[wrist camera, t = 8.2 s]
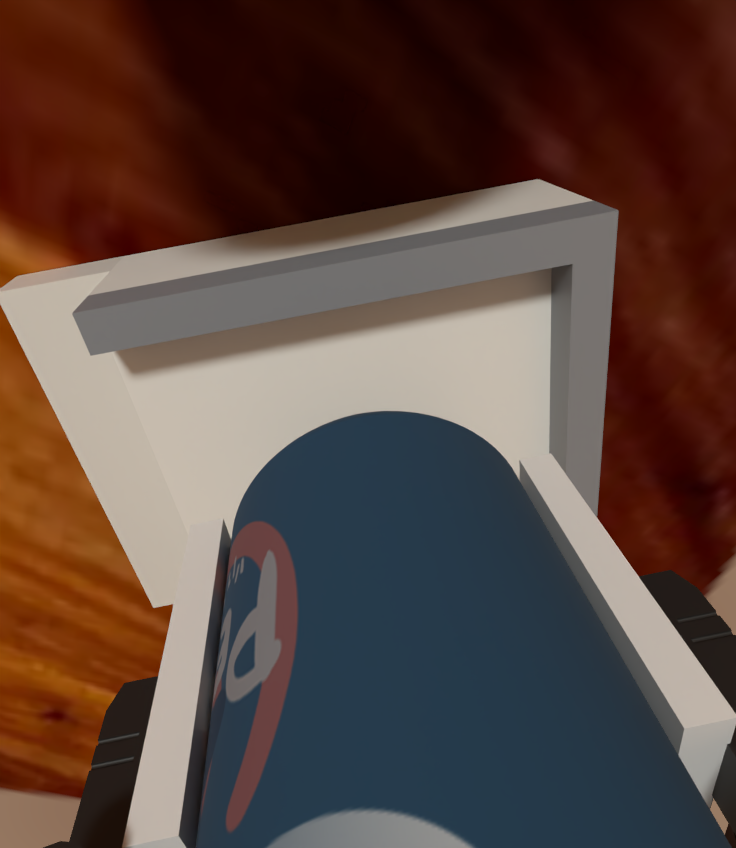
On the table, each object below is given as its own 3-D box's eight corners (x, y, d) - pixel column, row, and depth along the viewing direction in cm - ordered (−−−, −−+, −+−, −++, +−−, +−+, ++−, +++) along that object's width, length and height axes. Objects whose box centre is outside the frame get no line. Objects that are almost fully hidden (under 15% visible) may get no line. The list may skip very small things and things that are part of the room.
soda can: (197, 421, 13) (-130, 1670, 3) (498, 354, 13) (1256, 1334, 3) (277, 624, 17) (264, 1495, 6) (513, 571, 17) (875, 1351, 6)
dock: (160, 578, 23) (134, 685, 19) (17, 275, 16) (-70, 340, 12) (537, 501, 23) (591, 590, 19) (538, 179, 17) (618, 210, 13)
